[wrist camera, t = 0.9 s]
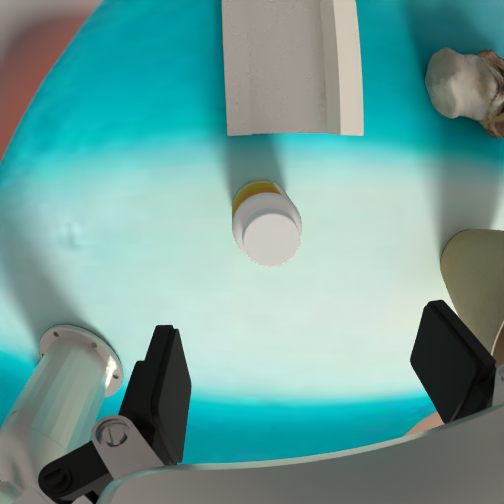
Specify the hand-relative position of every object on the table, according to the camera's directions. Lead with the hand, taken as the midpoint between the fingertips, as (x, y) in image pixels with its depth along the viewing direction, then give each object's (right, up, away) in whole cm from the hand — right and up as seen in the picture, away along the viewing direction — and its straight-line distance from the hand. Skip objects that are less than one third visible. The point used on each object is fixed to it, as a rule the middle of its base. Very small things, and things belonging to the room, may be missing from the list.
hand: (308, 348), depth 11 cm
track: (+1, +24, +13) cm, 27 cm away
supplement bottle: (-1, +8, +20) cm, 22 cm away
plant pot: (+24, +3, +24) cm, 34 cm away
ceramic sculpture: (+22, +22, +16) cm, 35 cm away
